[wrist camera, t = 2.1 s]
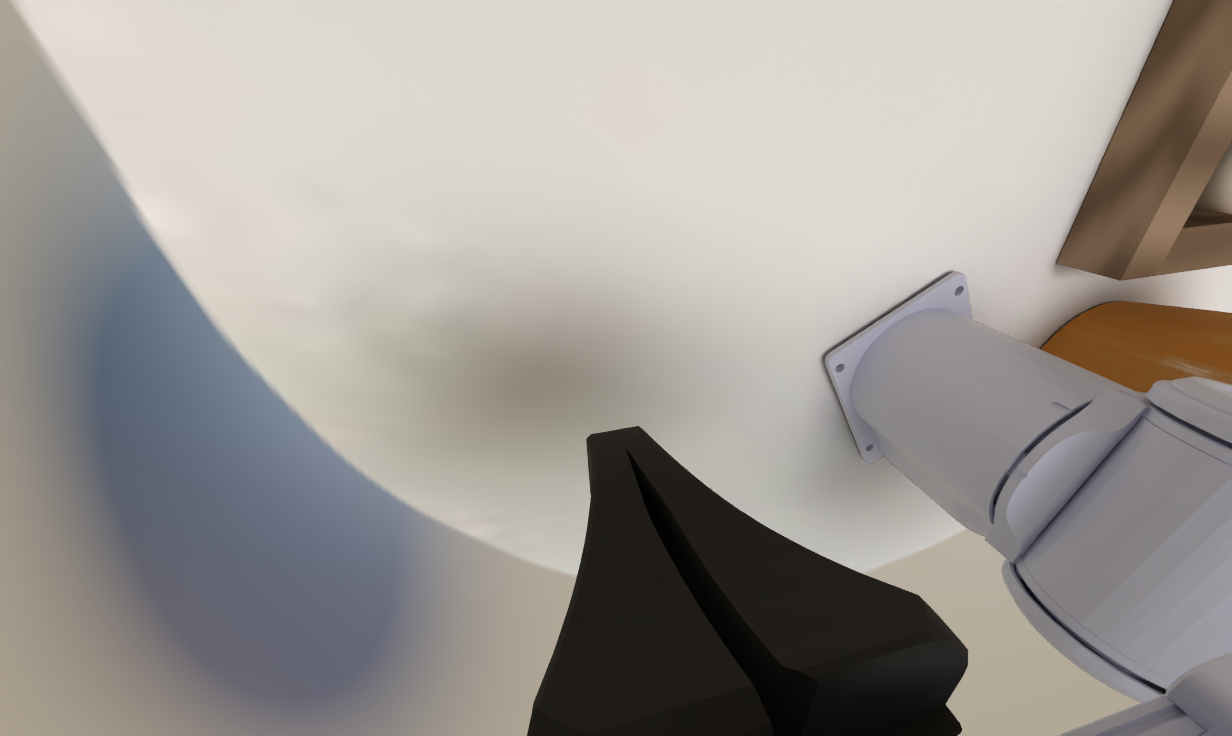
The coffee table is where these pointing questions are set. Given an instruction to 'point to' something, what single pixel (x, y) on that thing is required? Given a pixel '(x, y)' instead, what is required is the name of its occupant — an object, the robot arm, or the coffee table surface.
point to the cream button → (1219, 187)
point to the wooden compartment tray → (1164, 158)
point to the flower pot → (1147, 343)
